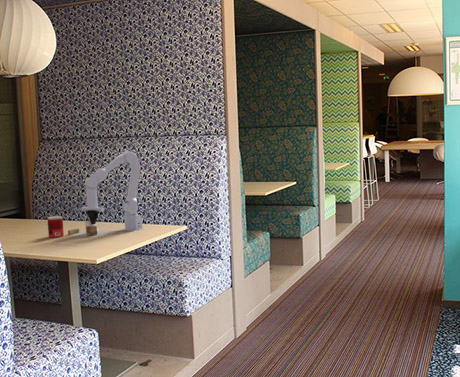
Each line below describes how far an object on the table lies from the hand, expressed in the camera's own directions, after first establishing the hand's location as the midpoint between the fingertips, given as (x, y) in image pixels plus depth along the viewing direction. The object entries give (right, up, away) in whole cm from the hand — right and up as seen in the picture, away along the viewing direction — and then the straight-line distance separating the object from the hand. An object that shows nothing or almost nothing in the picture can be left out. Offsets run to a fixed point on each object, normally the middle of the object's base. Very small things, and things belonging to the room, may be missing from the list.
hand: (93, 224), depth 341 cm
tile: (0, -5, +1) cm, 5 cm away
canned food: (-19, -7, -6) cm, 21 cm away
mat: (-1, -5, +1) cm, 6 cm away
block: (+1, -6, -6) cm, 9 cm away
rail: (-11, -5, 0) cm, 12 cm away
